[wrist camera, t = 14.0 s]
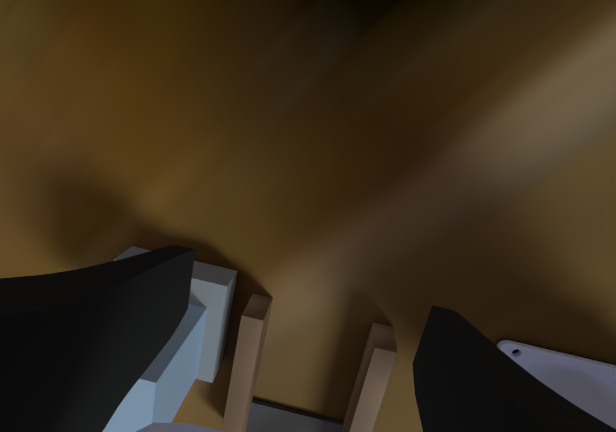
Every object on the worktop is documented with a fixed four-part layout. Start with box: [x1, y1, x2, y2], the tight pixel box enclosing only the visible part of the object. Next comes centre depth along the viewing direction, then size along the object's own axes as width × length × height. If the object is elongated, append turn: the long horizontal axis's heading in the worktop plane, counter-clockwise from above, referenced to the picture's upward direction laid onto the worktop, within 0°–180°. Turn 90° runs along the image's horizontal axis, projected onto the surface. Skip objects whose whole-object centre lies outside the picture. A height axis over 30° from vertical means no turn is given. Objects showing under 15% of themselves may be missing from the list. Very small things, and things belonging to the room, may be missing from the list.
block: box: [103, 304, 207, 432], centre depth 20 cm, size 4×4×6 cm
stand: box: [113, 246, 238, 383], centre depth 24 cm, size 6×6×2 cm
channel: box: [222, 293, 397, 432], centre depth 24 cm, size 8×10×2 cm
